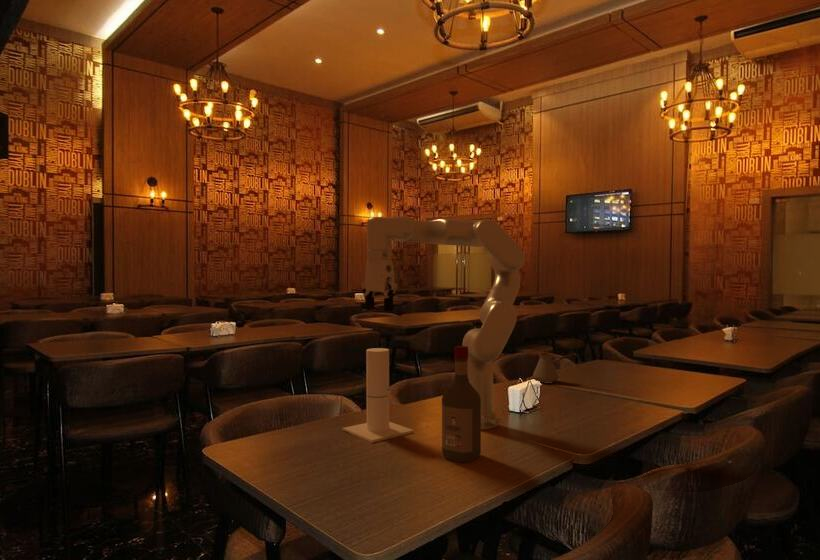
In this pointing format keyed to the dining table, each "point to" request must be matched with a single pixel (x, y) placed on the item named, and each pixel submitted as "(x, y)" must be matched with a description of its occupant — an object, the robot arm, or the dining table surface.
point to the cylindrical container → (377, 389)
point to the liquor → (461, 414)
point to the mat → (373, 437)
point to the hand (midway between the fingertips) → (379, 310)
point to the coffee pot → (547, 368)
